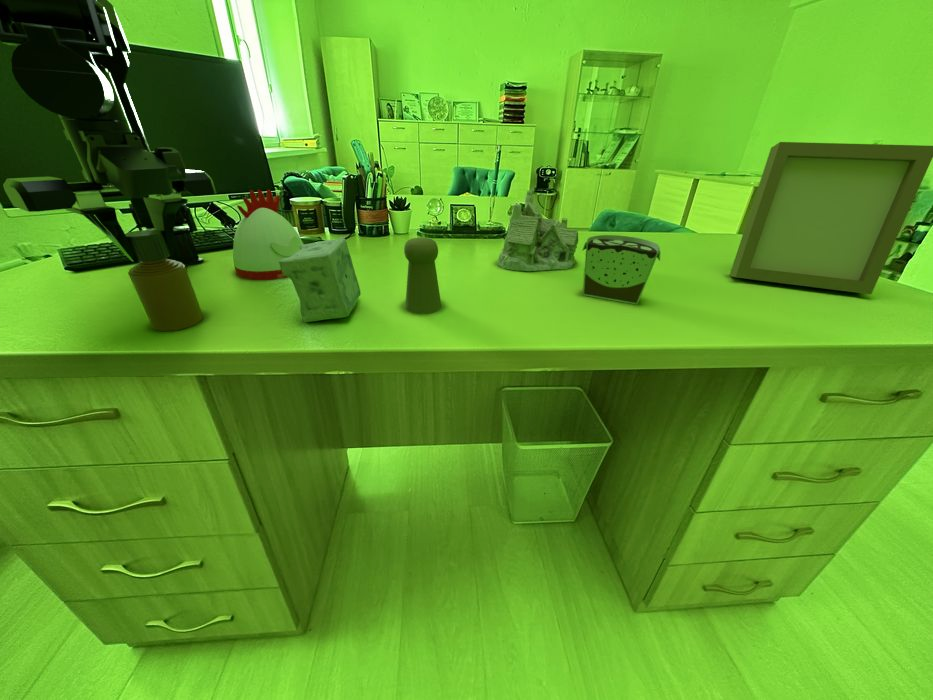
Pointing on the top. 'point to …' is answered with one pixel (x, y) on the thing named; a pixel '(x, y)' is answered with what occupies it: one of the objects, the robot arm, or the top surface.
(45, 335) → the top surface
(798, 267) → the photo frame
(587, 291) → the food container
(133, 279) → the bottle
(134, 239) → the cap
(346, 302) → the incense holder
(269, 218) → the kitchen timer
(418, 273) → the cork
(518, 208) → the ceramic cottage
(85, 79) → the robot arm
